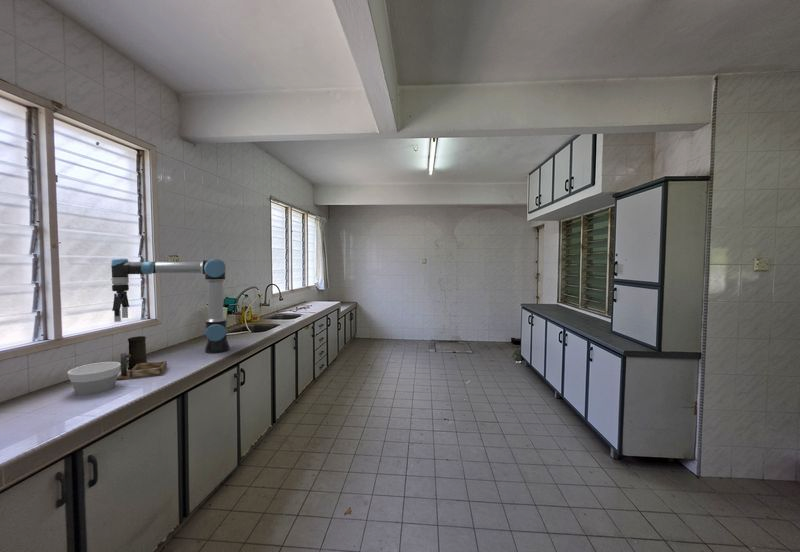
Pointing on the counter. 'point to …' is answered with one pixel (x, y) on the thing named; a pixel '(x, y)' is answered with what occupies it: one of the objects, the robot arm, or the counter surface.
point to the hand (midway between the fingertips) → (121, 319)
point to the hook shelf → (140, 369)
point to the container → (137, 351)
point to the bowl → (94, 377)
